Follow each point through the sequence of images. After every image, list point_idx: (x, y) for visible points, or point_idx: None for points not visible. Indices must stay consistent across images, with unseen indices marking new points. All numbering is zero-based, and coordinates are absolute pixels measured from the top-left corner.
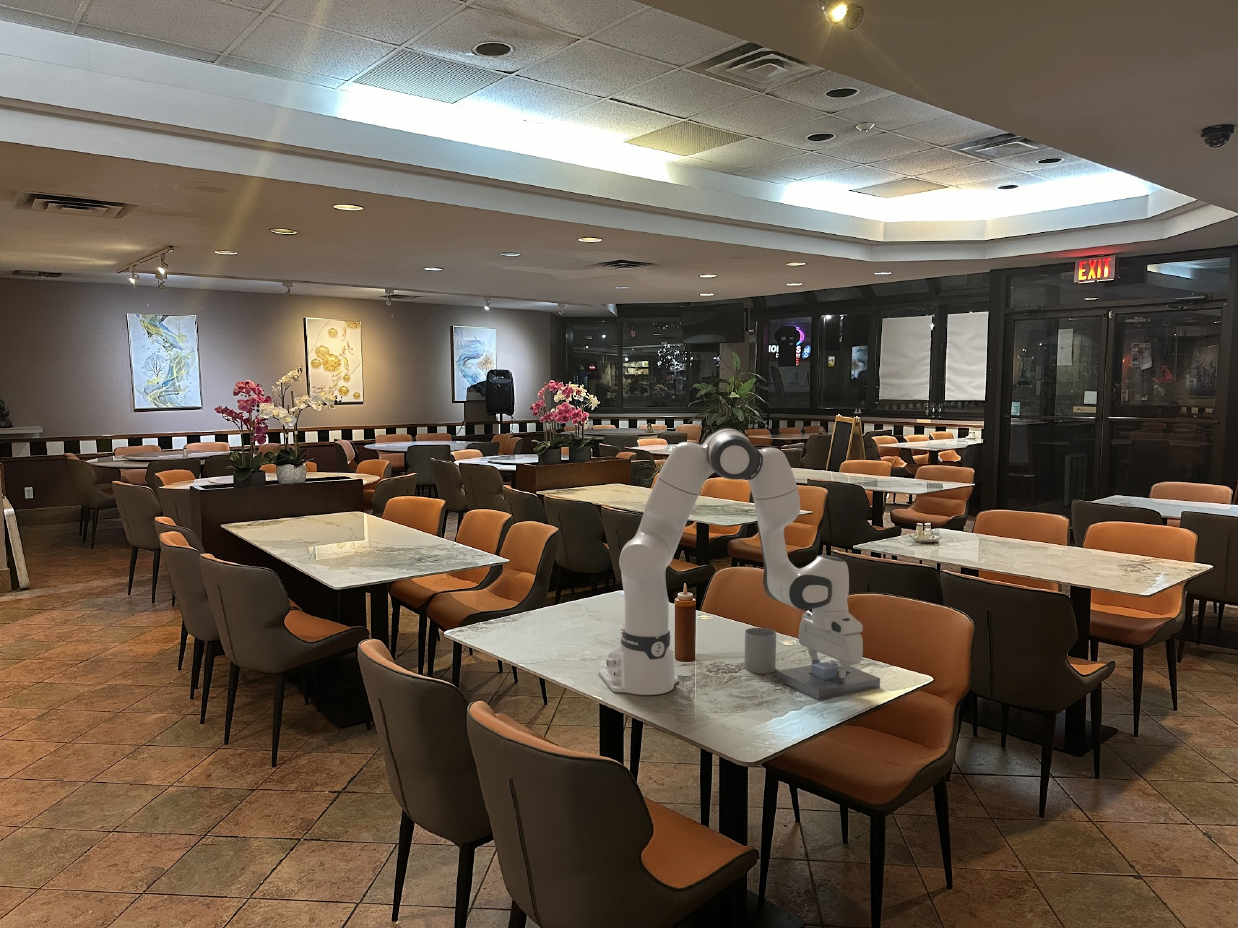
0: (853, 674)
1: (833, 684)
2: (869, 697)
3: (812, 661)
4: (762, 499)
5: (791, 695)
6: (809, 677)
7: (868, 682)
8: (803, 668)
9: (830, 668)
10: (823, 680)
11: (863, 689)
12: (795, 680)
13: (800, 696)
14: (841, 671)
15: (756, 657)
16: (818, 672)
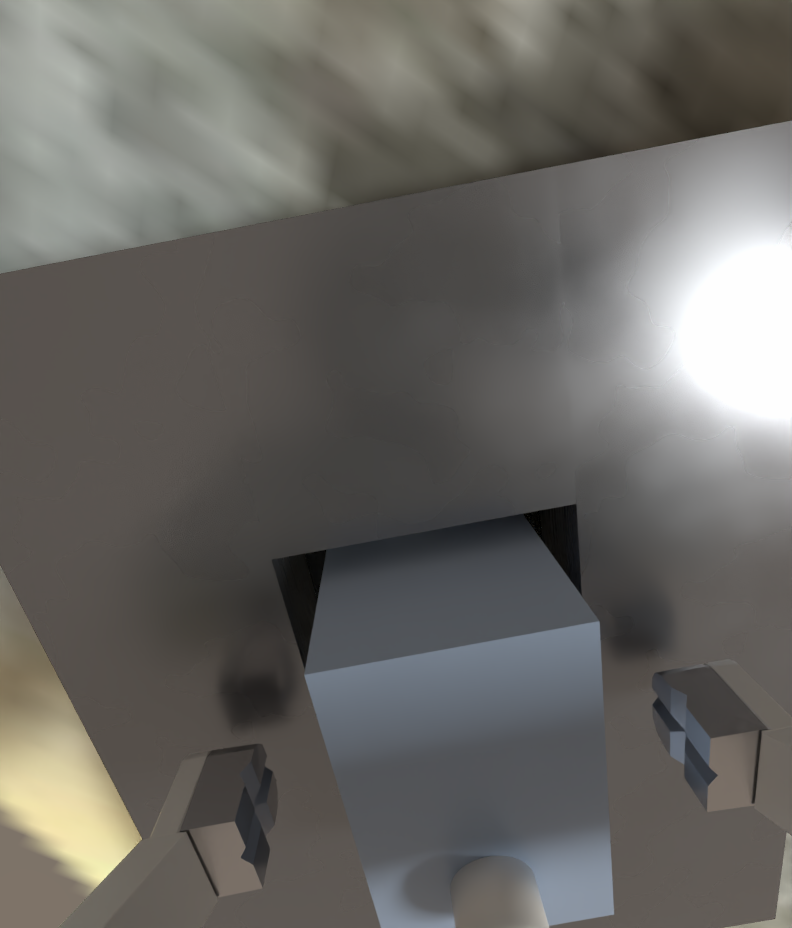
0: None
1: (110, 600)
2: (55, 771)
3: (748, 702)
4: None
5: (192, 19)
6: (425, 448)
7: None
8: (751, 545)
9: (335, 776)
10: (322, 574)
11: None
12: (415, 199)
13: (140, 135)
14: (147, 843)
15: None
16: (420, 600)
